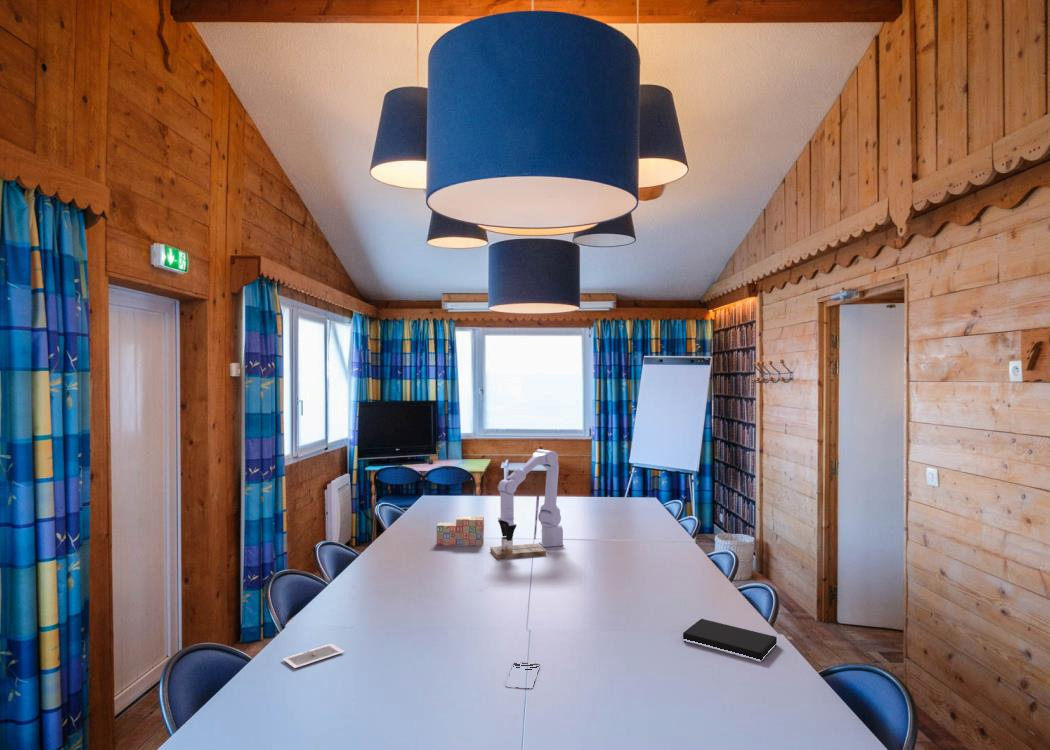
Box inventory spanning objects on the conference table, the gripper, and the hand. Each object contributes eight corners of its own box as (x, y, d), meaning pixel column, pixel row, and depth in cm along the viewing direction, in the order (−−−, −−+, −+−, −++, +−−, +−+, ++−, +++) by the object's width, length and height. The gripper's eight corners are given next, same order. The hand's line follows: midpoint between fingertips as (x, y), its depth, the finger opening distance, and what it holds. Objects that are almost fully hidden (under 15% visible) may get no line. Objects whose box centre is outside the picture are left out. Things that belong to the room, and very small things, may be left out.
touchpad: (345, 655, 188) (345, 647, 188) (294, 672, 177) (294, 664, 177) (331, 646, 194) (331, 639, 194) (282, 662, 183) (282, 654, 183)
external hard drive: (761, 663, 183) (761, 653, 183) (682, 642, 197) (682, 632, 197) (776, 646, 194) (776, 636, 194) (701, 627, 208) (701, 618, 208)
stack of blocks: (436, 545, 303) (436, 518, 303) (438, 542, 309) (438, 515, 309) (482, 546, 302) (482, 519, 302) (484, 542, 308) (484, 516, 308)
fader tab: (510, 547, 291) (510, 536, 291) (512, 550, 287) (512, 538, 287) (501, 548, 290) (501, 537, 290) (503, 550, 286) (503, 539, 286)
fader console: (537, 547, 299) (537, 540, 299) (546, 555, 287) (546, 548, 287) (490, 551, 292) (490, 544, 292) (497, 559, 281) (497, 551, 281)
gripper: (494, 504, 294) (494, 534, 294) (502, 511, 280) (502, 543, 280) (509, 503, 296) (509, 533, 296) (518, 510, 282) (518, 541, 282)
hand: (507, 538), depth 288 cm, fingers open, 7 cm apart
